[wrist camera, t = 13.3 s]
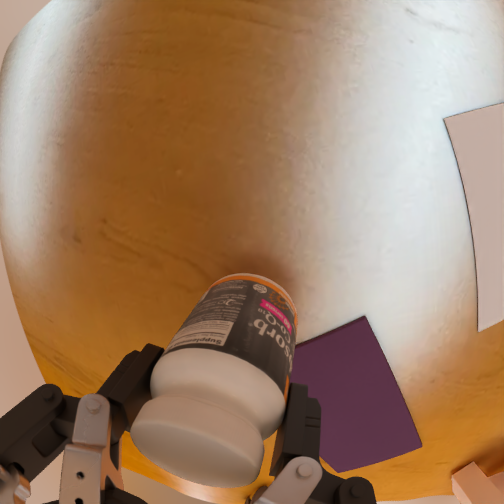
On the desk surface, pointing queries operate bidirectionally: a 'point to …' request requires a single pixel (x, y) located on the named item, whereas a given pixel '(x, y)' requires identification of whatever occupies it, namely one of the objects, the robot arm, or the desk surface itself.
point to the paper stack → (484, 200)
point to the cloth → (354, 397)
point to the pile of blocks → (478, 486)
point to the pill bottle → (221, 384)
